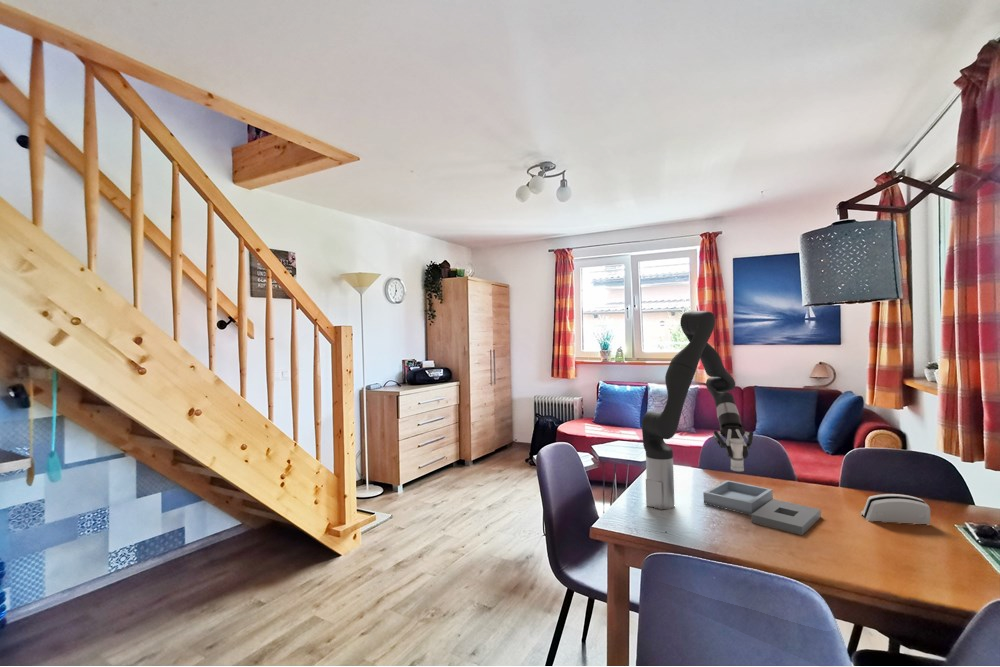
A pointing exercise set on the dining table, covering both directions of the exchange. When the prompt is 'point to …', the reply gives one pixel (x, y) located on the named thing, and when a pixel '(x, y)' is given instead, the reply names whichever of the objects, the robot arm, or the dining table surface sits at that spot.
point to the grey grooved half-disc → (896, 509)
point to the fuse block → (786, 516)
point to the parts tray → (738, 496)
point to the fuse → (737, 454)
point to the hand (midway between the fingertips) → (738, 457)
